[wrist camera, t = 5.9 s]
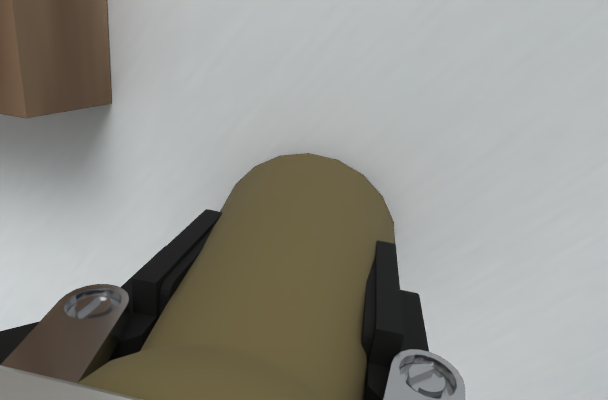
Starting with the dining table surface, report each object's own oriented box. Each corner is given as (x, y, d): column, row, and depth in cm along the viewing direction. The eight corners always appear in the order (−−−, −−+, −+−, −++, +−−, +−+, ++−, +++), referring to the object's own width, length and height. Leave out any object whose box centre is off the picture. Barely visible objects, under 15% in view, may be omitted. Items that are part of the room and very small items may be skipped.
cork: (285, 336, 15) (104, 901, 5) (188, 210, 14) (-299, 620, 4) (429, 269, 13) (604, 973, 3) (331, 116, 12) (102, 448, 2)
